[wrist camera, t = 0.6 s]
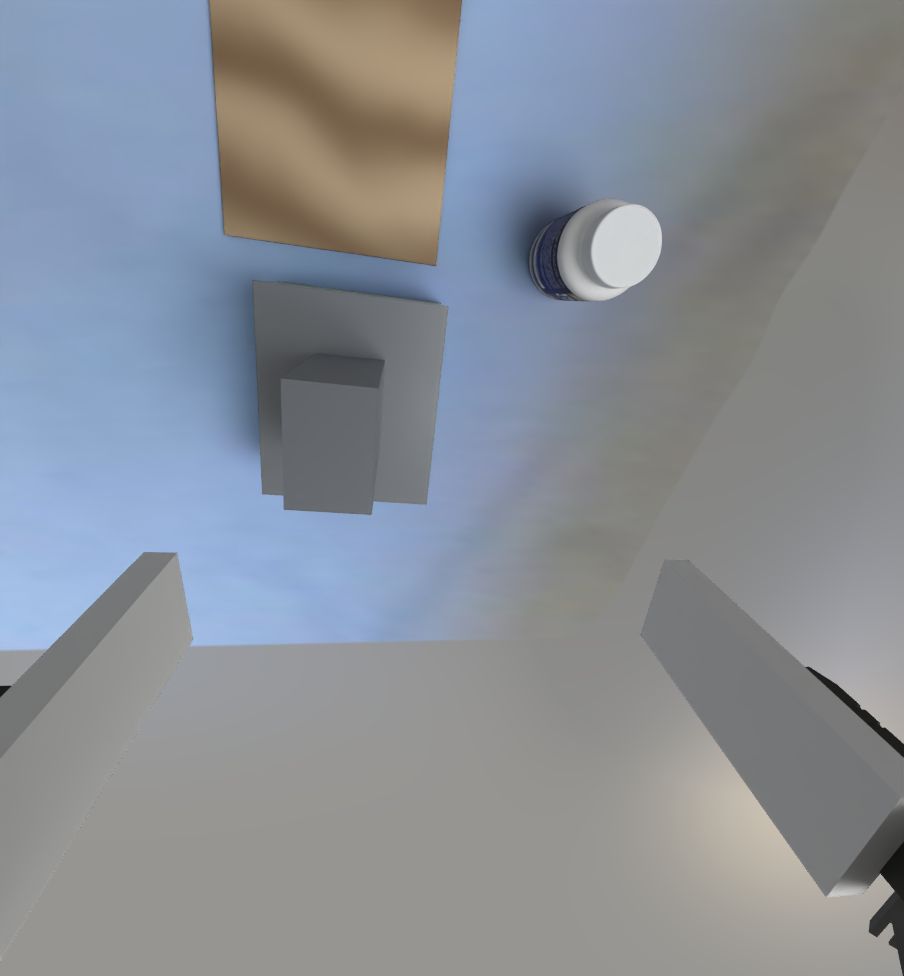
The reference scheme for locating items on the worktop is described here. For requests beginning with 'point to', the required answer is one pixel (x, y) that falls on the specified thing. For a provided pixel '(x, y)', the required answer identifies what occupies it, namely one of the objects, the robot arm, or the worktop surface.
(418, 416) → the lid
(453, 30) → the plate
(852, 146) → the worktop surface
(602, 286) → the pill bottle
